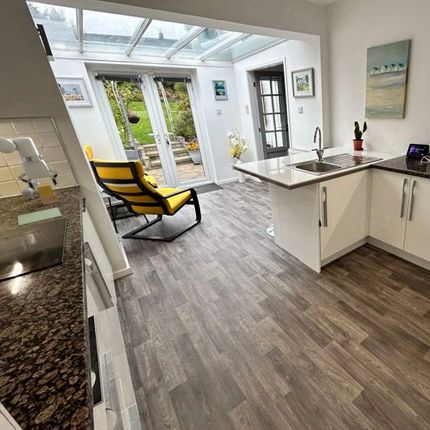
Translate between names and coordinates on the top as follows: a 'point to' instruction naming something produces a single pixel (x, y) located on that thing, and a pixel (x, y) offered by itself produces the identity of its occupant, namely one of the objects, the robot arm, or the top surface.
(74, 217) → the top surface
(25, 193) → the dog figurine
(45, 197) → the base block
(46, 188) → the top cube
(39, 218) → the mat
